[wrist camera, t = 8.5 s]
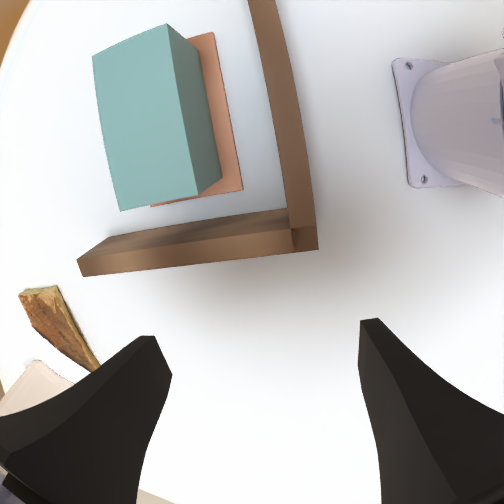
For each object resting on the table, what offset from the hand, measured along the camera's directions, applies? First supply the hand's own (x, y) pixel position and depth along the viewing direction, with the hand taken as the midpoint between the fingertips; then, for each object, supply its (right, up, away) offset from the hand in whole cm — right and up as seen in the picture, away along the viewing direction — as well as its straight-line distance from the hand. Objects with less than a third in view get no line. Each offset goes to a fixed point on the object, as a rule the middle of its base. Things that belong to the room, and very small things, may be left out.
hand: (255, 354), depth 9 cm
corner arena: (-4, +11, +6) cm, 14 cm away
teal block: (-4, +11, +6) cm, 13 cm away
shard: (-19, -3, +15) cm, 24 cm away
